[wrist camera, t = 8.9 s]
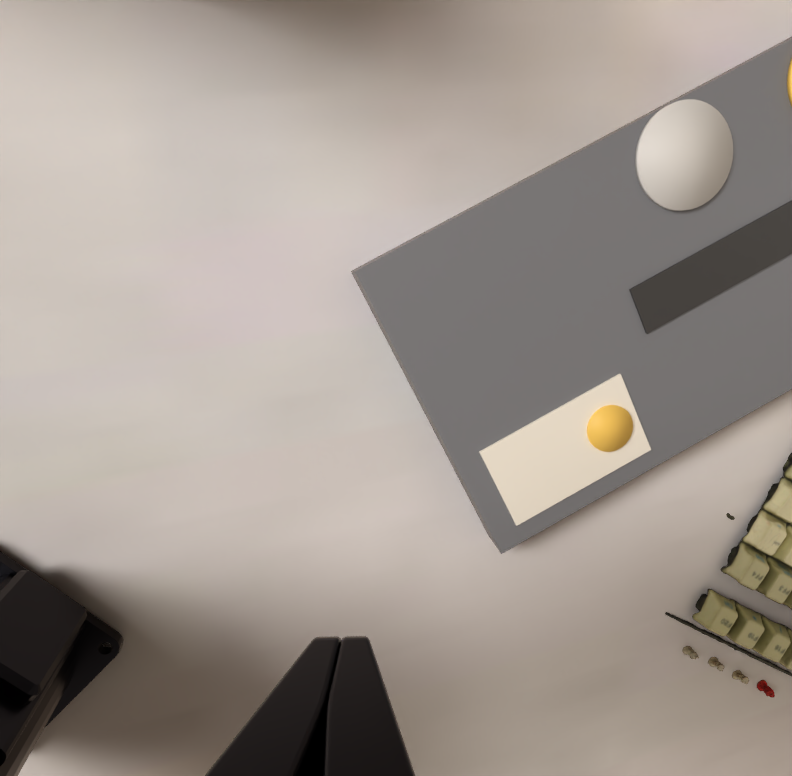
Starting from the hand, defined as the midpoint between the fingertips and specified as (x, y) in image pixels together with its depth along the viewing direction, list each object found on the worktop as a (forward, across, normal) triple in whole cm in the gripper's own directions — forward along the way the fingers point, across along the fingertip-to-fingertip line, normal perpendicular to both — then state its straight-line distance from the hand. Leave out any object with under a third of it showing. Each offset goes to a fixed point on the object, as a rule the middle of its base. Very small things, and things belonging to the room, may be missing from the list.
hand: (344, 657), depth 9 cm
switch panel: (+16, -10, -3) cm, 19 cm away
